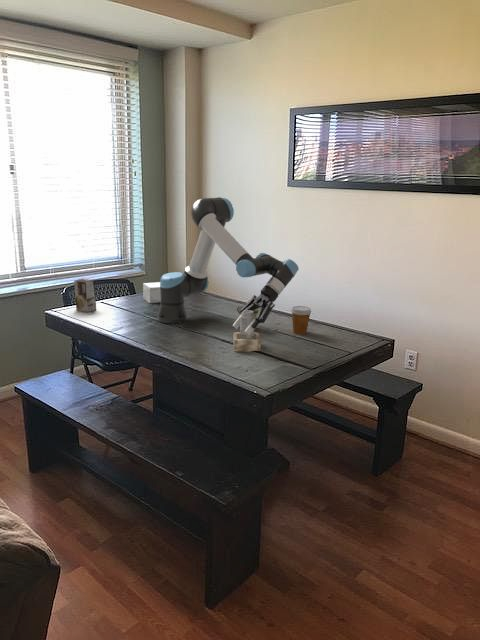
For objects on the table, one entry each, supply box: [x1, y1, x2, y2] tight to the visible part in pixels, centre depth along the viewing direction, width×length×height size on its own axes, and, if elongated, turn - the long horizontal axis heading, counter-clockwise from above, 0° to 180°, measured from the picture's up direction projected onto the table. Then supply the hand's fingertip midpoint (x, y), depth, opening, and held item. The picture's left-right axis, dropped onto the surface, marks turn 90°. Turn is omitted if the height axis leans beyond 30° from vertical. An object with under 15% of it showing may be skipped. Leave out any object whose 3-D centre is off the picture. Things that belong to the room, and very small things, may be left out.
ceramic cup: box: [236, 305, 260, 318], centre depth 257 cm, size 13×10×10 cm
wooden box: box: [232, 331, 261, 352], centre depth 229 cm, size 11×11×5 cm
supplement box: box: [142, 281, 161, 304], centre depth 306 cm, size 17×13×9 cm
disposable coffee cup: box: [290, 305, 312, 335], centre depth 251 cm, size 10×10×12 cm
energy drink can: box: [239, 310, 255, 339], centre depth 228 cm, size 6×6×15 cm
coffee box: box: [73, 278, 97, 313], centre depth 279 cm, size 9×6×16 cm
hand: (240, 330), depth 226 cm, fingers open, 9 cm apart
